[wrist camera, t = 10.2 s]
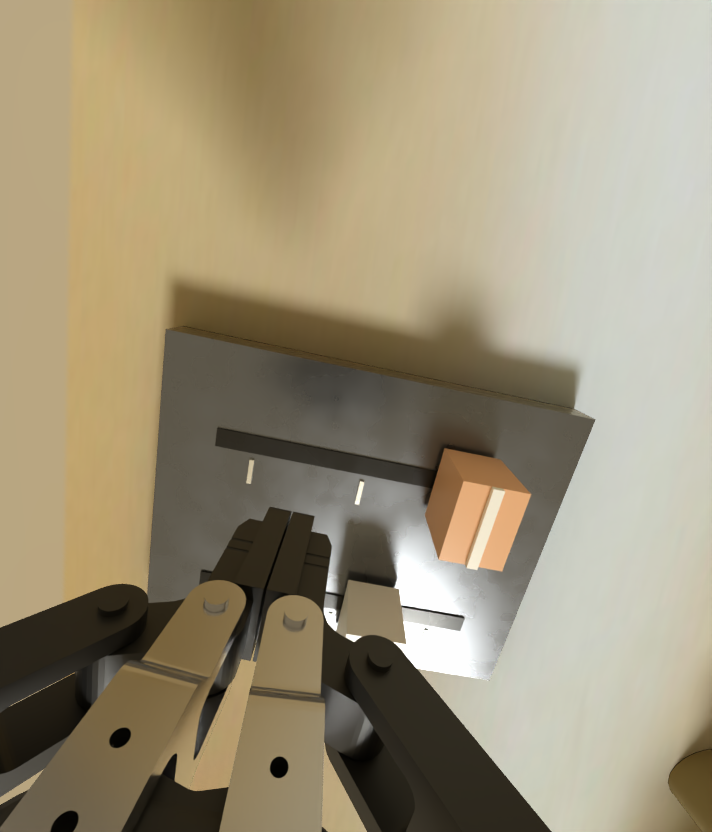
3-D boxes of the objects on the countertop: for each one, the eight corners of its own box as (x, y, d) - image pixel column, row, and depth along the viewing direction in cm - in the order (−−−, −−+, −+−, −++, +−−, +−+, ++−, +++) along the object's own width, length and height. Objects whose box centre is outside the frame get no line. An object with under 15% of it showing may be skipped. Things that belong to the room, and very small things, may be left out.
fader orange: (444, 448, 20) (464, 483, 16) (500, 459, 20) (533, 497, 16) (424, 515, 21) (439, 563, 17) (477, 525, 21) (504, 575, 18)
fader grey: (348, 579, 23) (346, 638, 19) (399, 589, 23) (407, 648, 19) (335, 633, 24) (330, 699, 20) (383, 642, 24) (388, 708, 20)
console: (183, 326, 21) (164, 329, 19) (574, 409, 22) (596, 420, 20) (161, 598, 26) (144, 623, 24) (479, 653, 27) (489, 681, 25)
